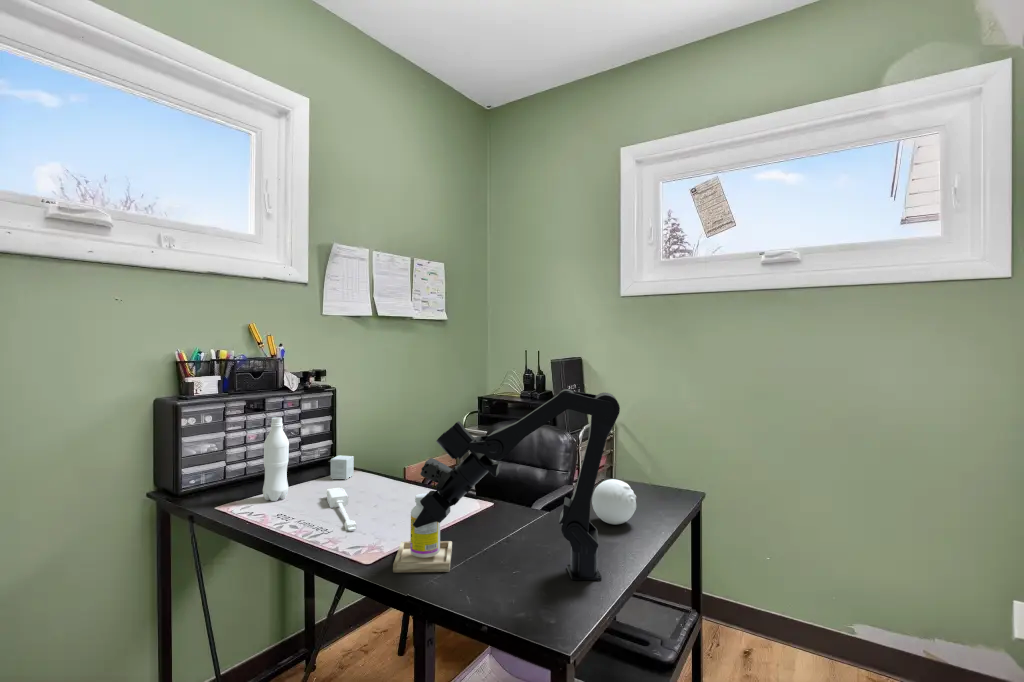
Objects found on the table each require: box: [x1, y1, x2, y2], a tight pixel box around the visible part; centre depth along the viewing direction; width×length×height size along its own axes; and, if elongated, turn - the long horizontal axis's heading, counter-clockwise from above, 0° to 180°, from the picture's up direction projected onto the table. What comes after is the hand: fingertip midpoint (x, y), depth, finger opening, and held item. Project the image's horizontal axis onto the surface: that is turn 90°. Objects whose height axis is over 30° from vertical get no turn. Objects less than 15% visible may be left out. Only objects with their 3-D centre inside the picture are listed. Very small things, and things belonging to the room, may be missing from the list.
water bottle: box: [262, 416, 290, 502], centre depth 155 cm, size 7×7×25 cm
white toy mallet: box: [326, 487, 357, 532], centre depth 144 cm, size 5×32×3 cm, turn 28°
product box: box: [330, 454, 355, 480], centre depth 180 cm, size 6×6×7 cm
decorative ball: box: [591, 478, 637, 525], centre depth 140 cm, size 12×12×12 cm
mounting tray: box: [392, 540, 453, 573], centre depth 114 cm, size 12×12×2 cm
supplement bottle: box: [409, 492, 441, 558], centre depth 114 cm, size 7×7×13 cm
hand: (419, 520), depth 114 cm, fingers closed on supplement bottle, 7 cm apart
